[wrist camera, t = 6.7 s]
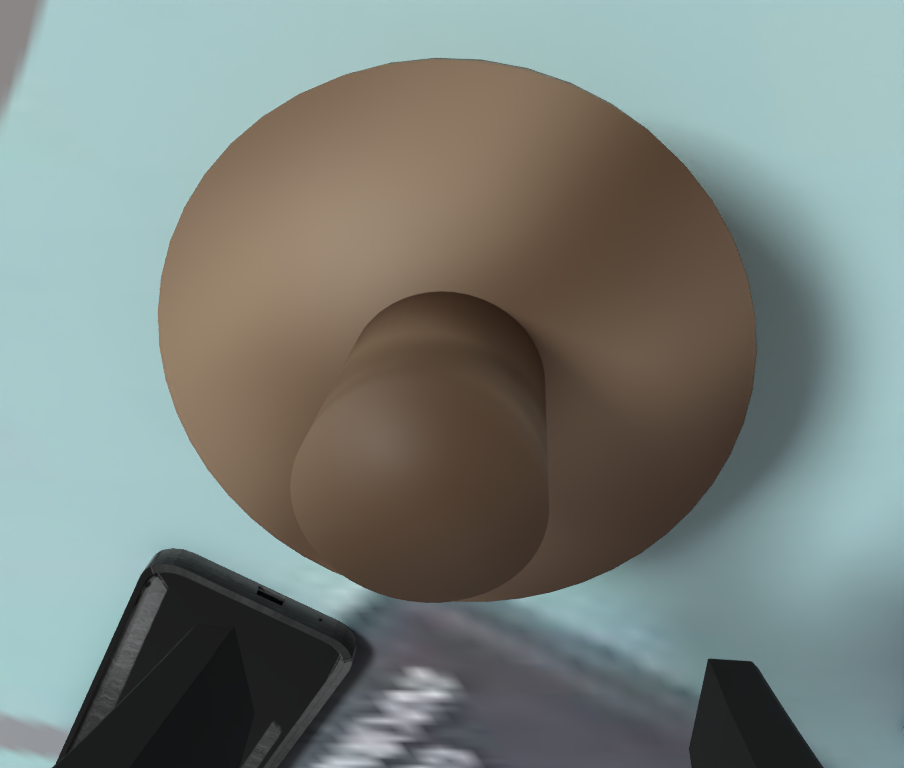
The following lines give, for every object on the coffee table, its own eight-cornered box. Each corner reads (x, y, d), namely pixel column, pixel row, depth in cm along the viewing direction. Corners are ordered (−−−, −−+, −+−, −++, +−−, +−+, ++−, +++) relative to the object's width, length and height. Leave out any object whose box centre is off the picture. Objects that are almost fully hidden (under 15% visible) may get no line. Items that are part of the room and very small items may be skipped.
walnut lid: (887, 269, 13) (1047, 389, 9) (544, 650, 18) (547, 830, 14) (292, -89, 11) (157, -144, 7) (110, 448, 17) (-24, 588, 13)
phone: (48, 779, 30) (149, 553, 23) (64, 754, 31) (166, 531, 24) (220, 848, 31) (365, 654, 24) (229, 822, 32) (372, 628, 25)
